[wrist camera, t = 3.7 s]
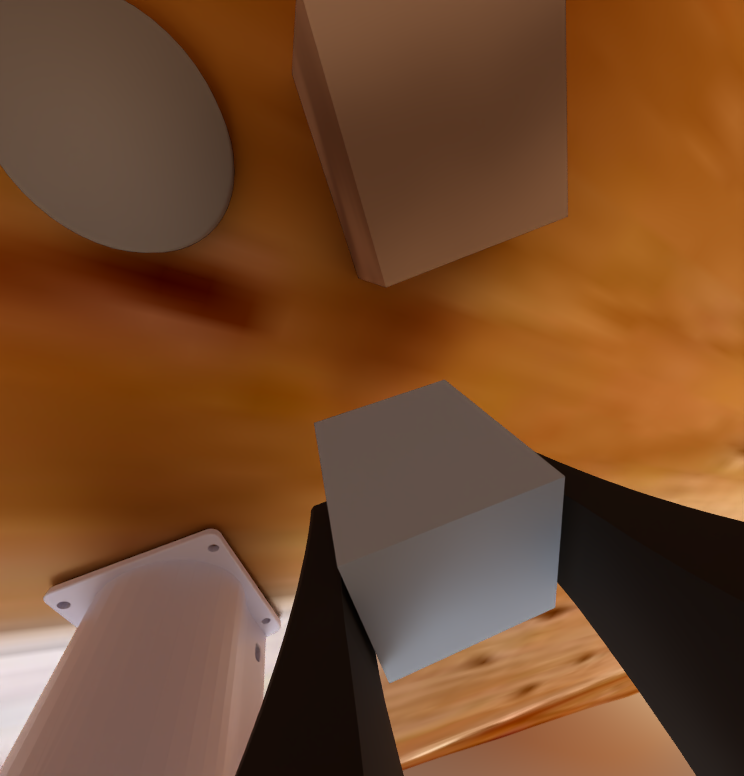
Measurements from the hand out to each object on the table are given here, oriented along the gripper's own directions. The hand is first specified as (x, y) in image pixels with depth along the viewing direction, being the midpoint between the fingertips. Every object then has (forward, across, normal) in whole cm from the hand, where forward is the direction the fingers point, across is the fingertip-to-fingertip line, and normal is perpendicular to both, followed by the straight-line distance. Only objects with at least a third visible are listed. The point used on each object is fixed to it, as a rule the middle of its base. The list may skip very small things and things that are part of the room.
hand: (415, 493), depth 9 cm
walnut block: (+7, -4, -9) cm, 12 cm away
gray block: (+2, 0, 0) cm, 2 cm away
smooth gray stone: (+7, +5, -11) cm, 14 cm away
